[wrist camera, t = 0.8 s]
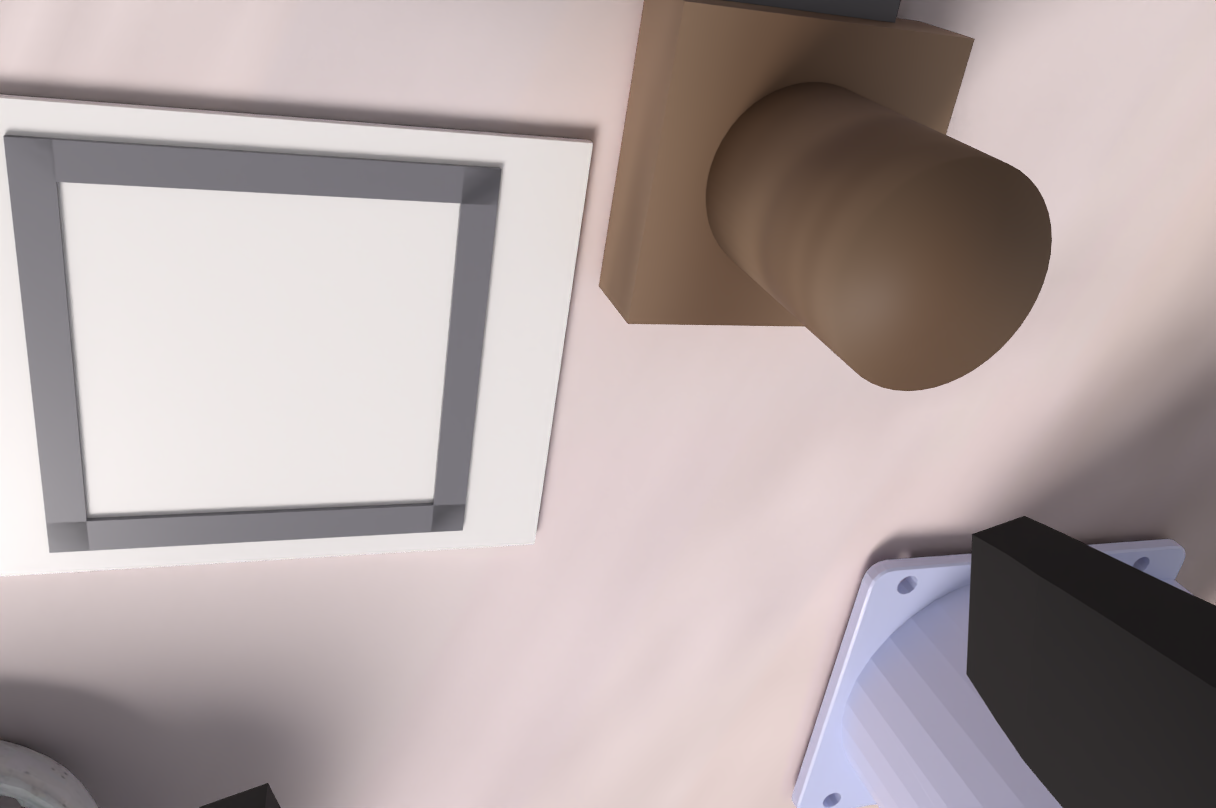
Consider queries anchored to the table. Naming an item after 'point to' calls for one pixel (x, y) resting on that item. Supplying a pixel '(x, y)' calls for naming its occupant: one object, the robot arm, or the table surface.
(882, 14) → the ink pad
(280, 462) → the paper
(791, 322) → the stamp
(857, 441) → the table surface
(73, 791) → the ceramic mug
